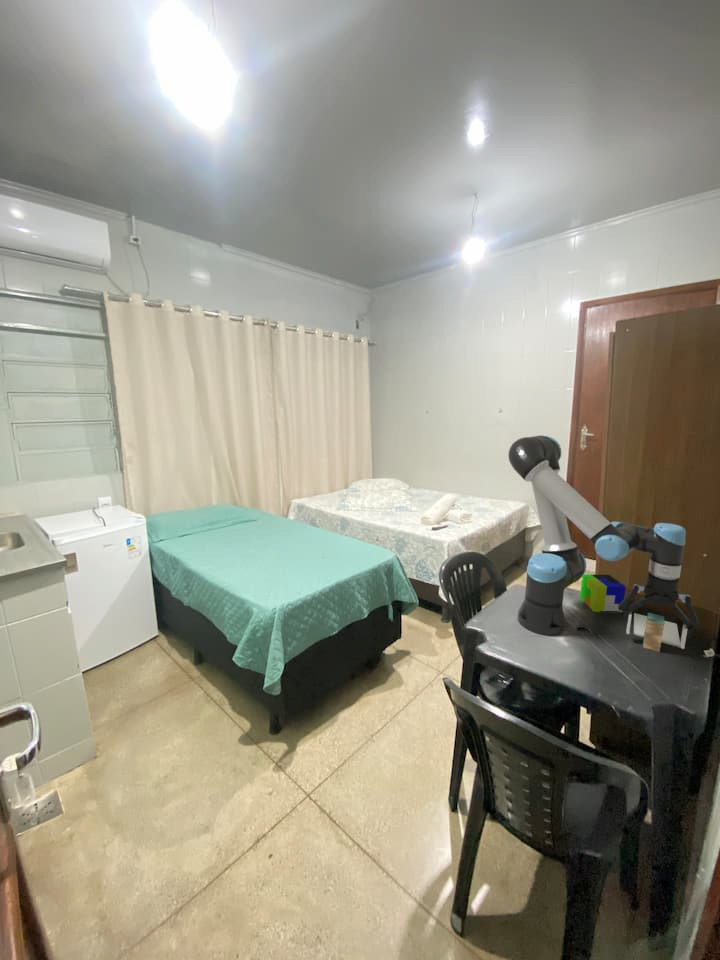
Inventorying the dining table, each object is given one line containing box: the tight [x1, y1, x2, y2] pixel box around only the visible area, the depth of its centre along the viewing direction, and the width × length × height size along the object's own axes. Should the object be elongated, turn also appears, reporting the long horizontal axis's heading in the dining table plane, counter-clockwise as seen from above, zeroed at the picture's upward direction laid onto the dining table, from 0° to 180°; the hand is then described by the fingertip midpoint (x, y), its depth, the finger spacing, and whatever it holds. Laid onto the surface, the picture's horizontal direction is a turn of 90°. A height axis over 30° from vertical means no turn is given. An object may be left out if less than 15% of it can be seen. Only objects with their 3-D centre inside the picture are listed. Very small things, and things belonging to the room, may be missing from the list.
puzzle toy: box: [579, 574, 627, 613], centre depth 147 cm, size 10×10×10 cm
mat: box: [633, 612, 681, 648], centre depth 132 cm, size 12×15×1 cm
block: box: [642, 612, 666, 653], centre depth 122 cm, size 4×4×10 cm
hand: (654, 639), depth 122 cm, fingers open, 13 cm apart
